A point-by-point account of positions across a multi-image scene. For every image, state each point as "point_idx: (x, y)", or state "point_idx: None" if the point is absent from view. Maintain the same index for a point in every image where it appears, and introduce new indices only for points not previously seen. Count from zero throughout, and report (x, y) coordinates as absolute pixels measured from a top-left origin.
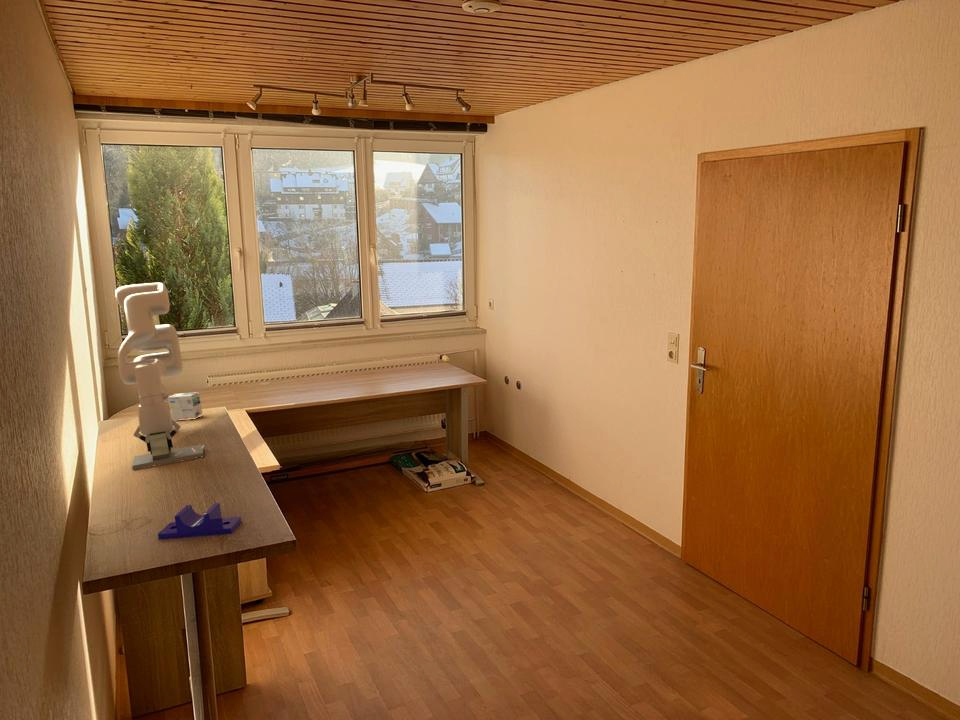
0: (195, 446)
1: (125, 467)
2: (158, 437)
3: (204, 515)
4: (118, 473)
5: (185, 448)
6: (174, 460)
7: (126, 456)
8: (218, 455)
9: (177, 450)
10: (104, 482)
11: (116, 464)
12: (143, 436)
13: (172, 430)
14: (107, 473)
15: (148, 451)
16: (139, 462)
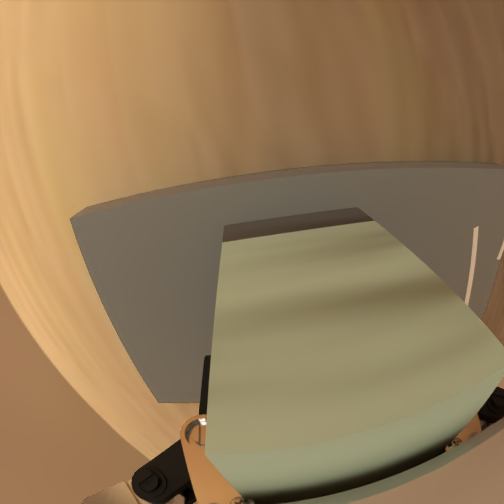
0: (492, 194)
1: (95, 328)
2: None
3: None
4: (115, 390)
5: (452, 203)
6: None
7: (14, 75)
8: (492, 322)
9: (408, 226)
10: (123, 434)
11: (16, 240)
12: (181, 496)
13: (488, 424)
14: (64, 365)
15: None
16: (177, 379)
